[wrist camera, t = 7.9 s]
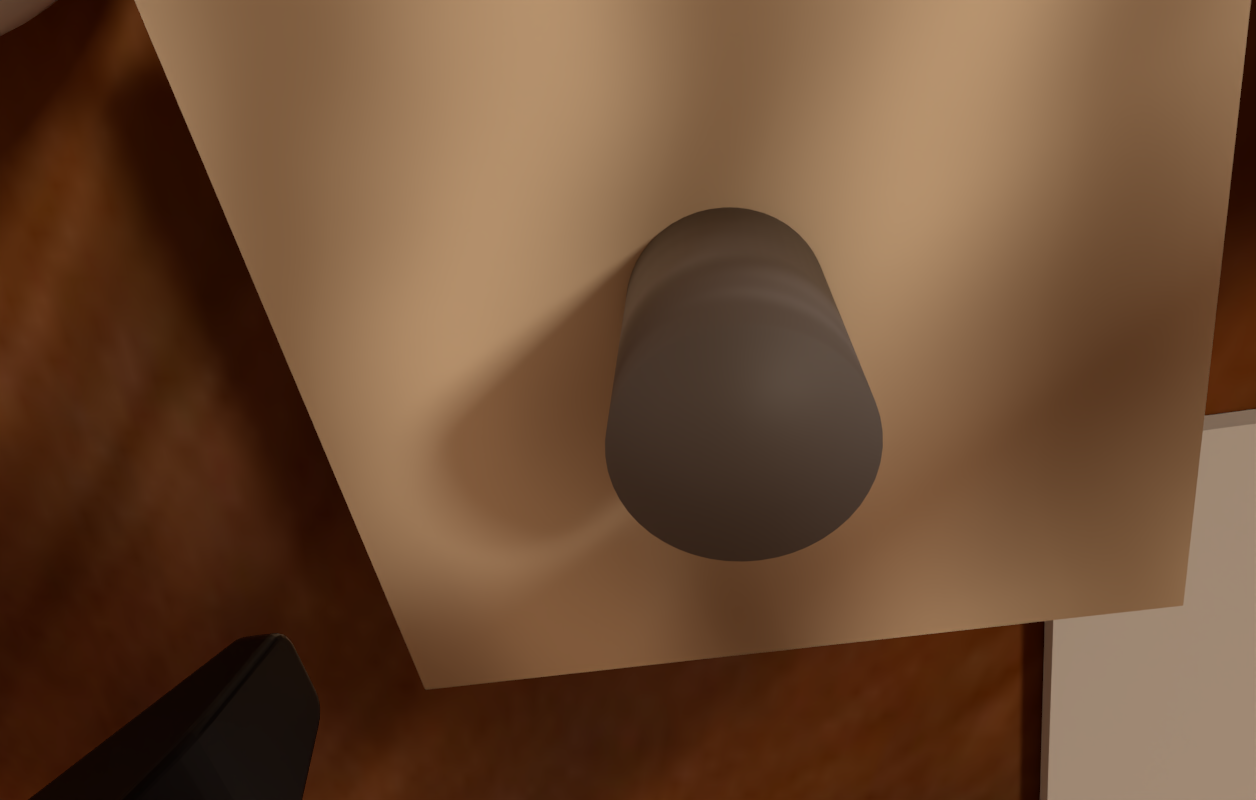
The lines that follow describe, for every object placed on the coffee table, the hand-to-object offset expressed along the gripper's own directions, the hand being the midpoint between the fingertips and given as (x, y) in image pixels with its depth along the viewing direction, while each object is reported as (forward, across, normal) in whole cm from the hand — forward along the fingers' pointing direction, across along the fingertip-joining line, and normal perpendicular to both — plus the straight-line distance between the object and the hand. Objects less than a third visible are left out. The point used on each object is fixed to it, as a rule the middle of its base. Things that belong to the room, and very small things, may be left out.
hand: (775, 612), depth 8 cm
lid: (+8, 0, 0) cm, 8 cm away
